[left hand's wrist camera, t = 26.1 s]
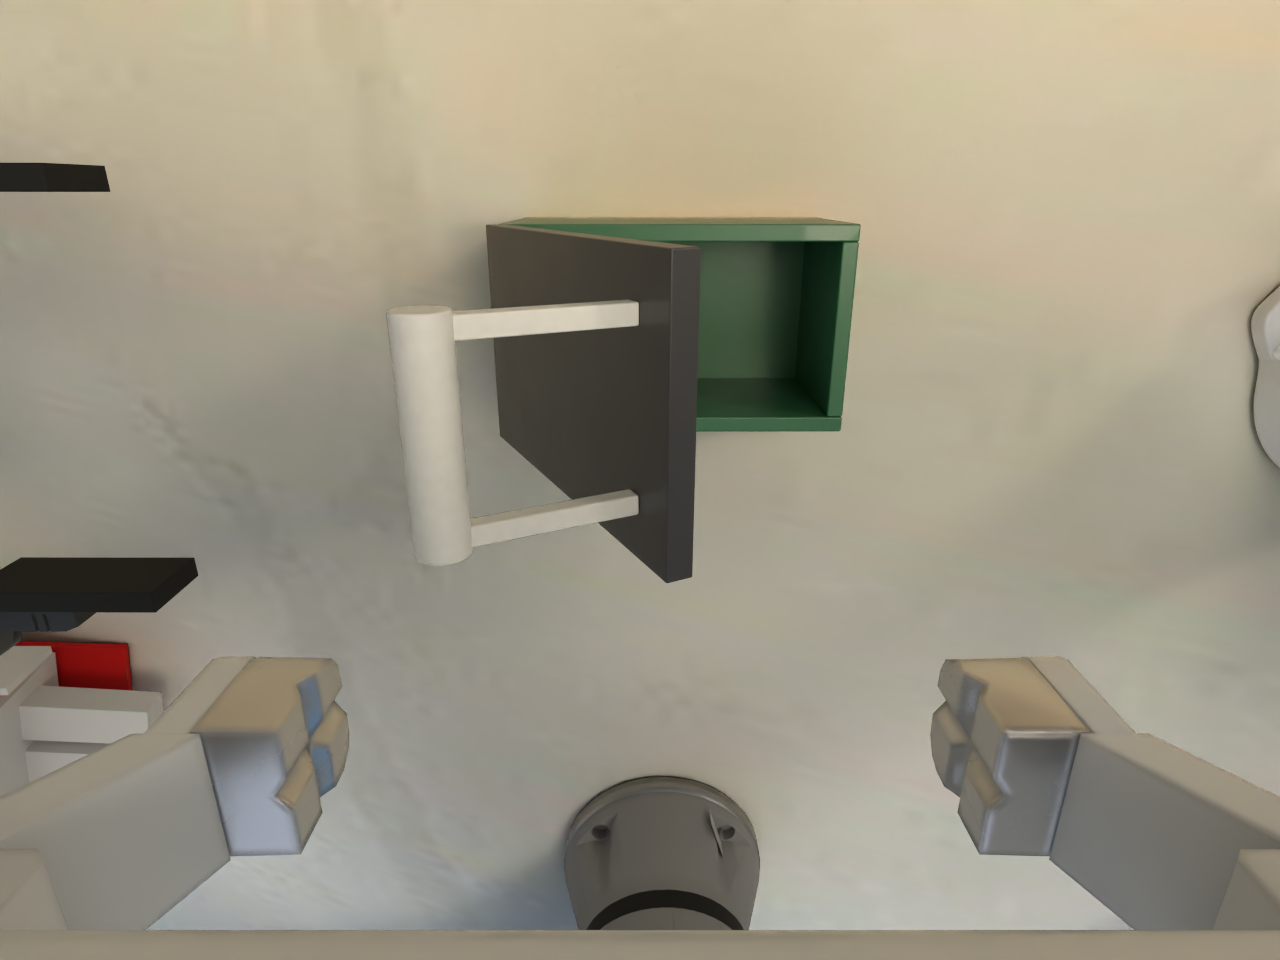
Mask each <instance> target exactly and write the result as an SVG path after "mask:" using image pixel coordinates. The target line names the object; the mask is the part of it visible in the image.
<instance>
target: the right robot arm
mask: <svg viewBox="0 0 1280 960" xmlns="http://www.w3.org/2000/svg"><path fill="white" fill-rule="evenodd" d="M0 192H110V188H109V184H108V179H107V175H106V171H105V166H94V165H74V164H53V163H0ZM197 576H198V572H197V568H196V564H195V559H194V558H20V559H18V560H16V561H14V562H13V563H11V564H9V565H8V566H6V567H4V568H3V569H1V570H0V656H1V655H2V654H3V653H5V652H6V651H8V650H9V649H10V648H12V647H13V646H14V645H16V644H17V643H18V642H20V640H21V639H22V631H68V630H70V629H73V628H76V627H78V626H79V625H81V624H82V623H83V622H85V621H86V620H87V619H88V618H90V617H91V616H92V615H94V614H95V613H96V612H157V611H158V610H159V609H160V608H161V607H163V606H164V605H165V604H166V603H167V602H168V601H169V600H171V599H172V598H173V597H174V596H175V595H176V594H178V593H179V592H180V591H181V590H182V589H183V588H184V587H186V586H187V585H188V584H189V583H190V582H191V581H193V580H194V579H195V578H196V577H197ZM759 870H760V858H759V851H758V845H757V840H756V836H755V832H754V829H753V827H752V824H751V822H750V821H749V819H748V817H747V816H746V814H745V813H744V812H743V810H742V809H741V808H740V807H739V806H738V805H737V804H736V803H735V802H734V801H733V800H731V799H730V798H729V797H727V796H726V795H725V794H723V793H721V792H720V791H718V790H716V789H714V788H712V787H710V786H707V785H705V784H702V783H699V782H696V781H692V780H687V779H682V778H674V777H651V778H643V779H638V780H633V781H629V782H626V783H623V784H620V785H618V786H615V787H613V788H611V789H609V790H607V791H605V792H604V793H602V794H600V795H599V796H597V797H596V798H595V799H593V800H592V801H591V802H590V803H589V804H587V805H586V806H585V808H584V809H583V810H582V811H581V812H580V813H579V815H578V816H577V817H576V819H575V821H574V823H573V824H572V827H571V829H570V831H569V835H568V838H567V845H566V853H565V876H566V883H567V888H568V892H569V895H570V899H571V903H572V907H573V910H574V914H575V918H576V921H577V925H578V929H579V930H749V926H750V921H751V916H752V911H753V906H754V901H755V897H756V892H757V887H758V882H759Z"/></svg>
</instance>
